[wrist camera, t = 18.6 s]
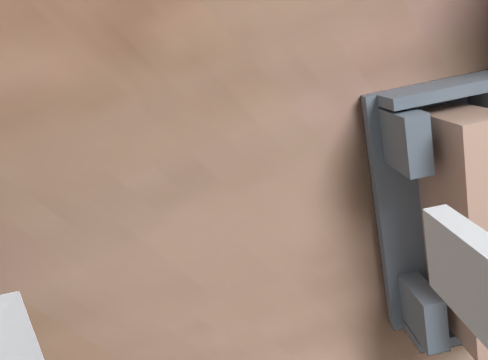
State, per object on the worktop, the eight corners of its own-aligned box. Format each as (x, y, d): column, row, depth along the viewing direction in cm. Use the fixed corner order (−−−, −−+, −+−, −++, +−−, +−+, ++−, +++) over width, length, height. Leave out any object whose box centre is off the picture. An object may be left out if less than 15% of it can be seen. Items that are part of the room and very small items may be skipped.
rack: (389, 322, 49) (418, 369, 41) (360, 95, 42) (389, 104, 35) (501, 299, 49) (550, 342, 41) (489, 69, 42) (545, 72, 35)
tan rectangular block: (430, 305, 47) (478, 363, 38) (411, 110, 41) (462, 125, 33) (469, 298, 47) (526, 354, 38) (455, 101, 41) (518, 114, 33)
